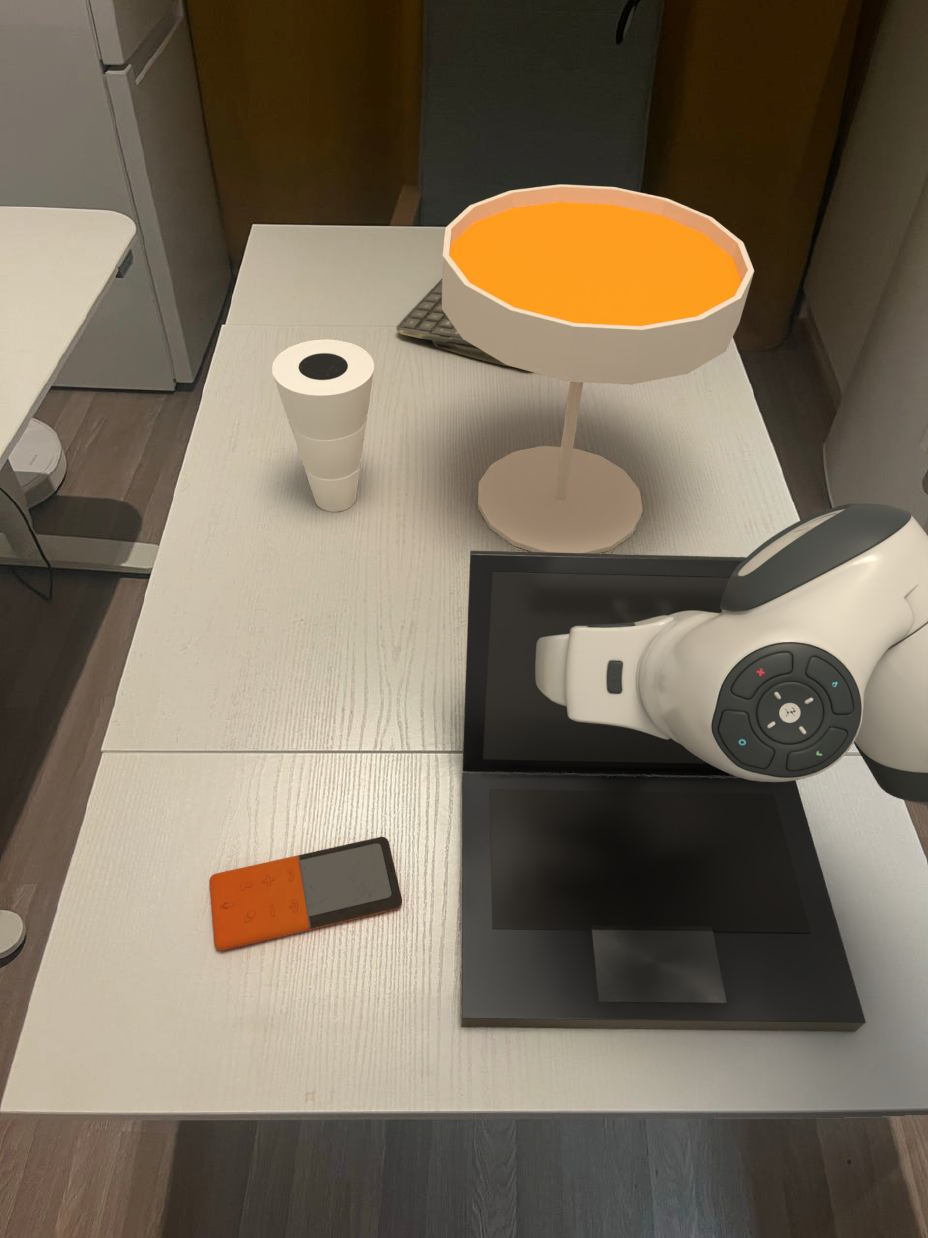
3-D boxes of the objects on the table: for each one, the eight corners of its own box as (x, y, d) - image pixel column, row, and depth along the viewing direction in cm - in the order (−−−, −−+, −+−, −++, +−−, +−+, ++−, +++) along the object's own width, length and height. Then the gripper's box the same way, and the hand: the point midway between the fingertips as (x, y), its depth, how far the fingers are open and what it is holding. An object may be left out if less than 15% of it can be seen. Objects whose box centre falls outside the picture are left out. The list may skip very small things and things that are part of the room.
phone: (207, 872, 73) (387, 832, 76) (210, 879, 74) (387, 839, 77) (213, 948, 69) (403, 903, 72) (216, 955, 70) (403, 910, 73)
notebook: (856, 1031, 68) (866, 1022, 66) (461, 1027, 67) (461, 1017, 65) (788, 790, 82) (795, 778, 80) (461, 784, 81) (462, 772, 79)
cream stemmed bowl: (523, 401, 122) (547, 161, 99) (722, 487, 111) (802, 239, 88) (386, 515, 105) (376, 257, 82) (605, 629, 94) (665, 369, 71)
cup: (398, 493, 108) (394, 362, 95) (339, 541, 102) (327, 407, 89) (332, 459, 112) (319, 328, 99) (271, 503, 106) (250, 370, 93)
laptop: (620, 283, 145) (632, 219, 137) (555, 383, 125) (564, 314, 117) (476, 249, 151) (479, 186, 143) (392, 339, 131) (390, 271, 123)
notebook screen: (847, 563, 71) (843, 559, 72) (470, 554, 70) (470, 550, 71) (795, 778, 80) (791, 772, 81) (462, 772, 79) (462, 766, 80)
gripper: (854, 633, 60) (777, 623, 73) (549, 626, 59) (529, 617, 73) (850, 727, 60) (774, 699, 74) (546, 721, 59) (527, 694, 73)
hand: (650, 658), depth 73 cm, fingers closed
